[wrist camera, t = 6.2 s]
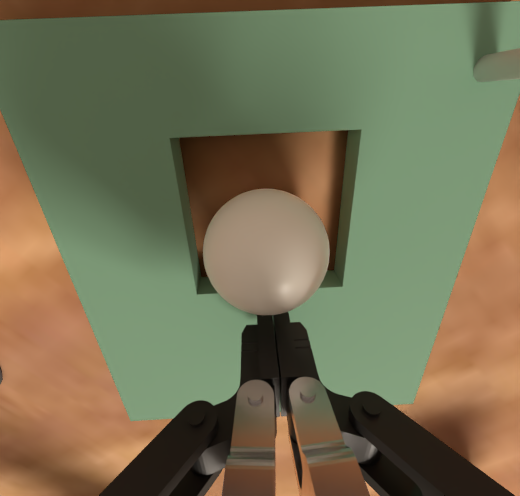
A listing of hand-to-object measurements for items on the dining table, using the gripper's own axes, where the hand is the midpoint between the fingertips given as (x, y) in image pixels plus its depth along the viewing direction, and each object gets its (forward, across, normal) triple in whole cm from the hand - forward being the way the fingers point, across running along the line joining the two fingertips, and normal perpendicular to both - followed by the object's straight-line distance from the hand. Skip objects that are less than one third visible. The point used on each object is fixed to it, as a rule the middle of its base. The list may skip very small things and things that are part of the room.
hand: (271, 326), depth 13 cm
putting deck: (+2, 0, -2) cm, 3 cm away
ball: (0, 0, -4) cm, 4 cm away
